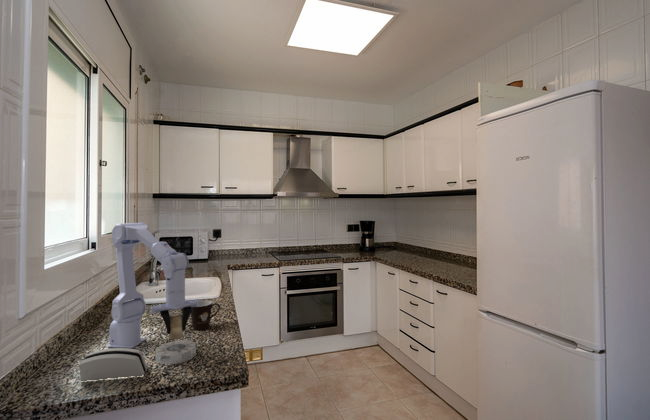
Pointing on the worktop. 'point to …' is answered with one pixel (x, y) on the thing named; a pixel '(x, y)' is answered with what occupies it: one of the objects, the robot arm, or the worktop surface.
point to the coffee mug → (202, 315)
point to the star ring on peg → (175, 352)
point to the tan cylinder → (176, 326)
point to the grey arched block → (112, 364)
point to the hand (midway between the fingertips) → (176, 331)
